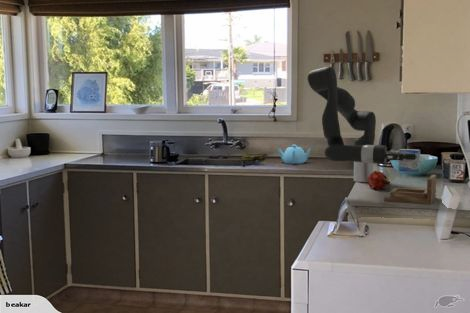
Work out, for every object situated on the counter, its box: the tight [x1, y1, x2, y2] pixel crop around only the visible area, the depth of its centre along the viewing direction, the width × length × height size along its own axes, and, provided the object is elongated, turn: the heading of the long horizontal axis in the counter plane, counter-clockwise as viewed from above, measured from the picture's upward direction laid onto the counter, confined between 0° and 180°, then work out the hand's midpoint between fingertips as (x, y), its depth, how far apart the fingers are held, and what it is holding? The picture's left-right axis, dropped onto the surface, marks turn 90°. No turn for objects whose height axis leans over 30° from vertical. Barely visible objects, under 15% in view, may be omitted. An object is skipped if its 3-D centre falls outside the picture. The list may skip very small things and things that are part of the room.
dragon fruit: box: [366, 170, 391, 191], centre depth 270 cm, size 8×8×12 cm
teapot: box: [277, 144, 312, 165], centre depth 358 cm, size 15×15×11 cm
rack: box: [383, 174, 437, 205], centre depth 245 cm, size 14×18×10 cm
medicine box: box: [398, 148, 421, 173], centre depth 244 cm, size 8×4×9 cm, turn 68°
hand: (416, 156), depth 242 cm, fingers closed on medicine box, 4 cm apart
